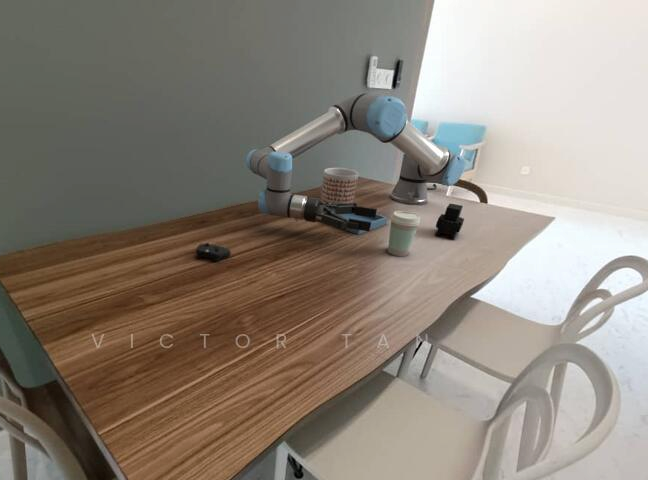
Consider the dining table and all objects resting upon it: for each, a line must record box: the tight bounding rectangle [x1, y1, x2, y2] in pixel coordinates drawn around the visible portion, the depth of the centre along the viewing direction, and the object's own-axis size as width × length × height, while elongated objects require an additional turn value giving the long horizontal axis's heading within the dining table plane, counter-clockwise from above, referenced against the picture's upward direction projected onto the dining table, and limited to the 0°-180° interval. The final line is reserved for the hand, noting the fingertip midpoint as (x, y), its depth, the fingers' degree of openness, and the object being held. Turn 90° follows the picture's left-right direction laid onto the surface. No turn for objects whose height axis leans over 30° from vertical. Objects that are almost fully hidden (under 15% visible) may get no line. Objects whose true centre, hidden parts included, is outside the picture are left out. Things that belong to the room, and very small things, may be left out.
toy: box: [435, 203, 465, 241], centre depth 137 cm, size 8×14×10 cm, turn 149°
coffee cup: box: [387, 210, 421, 257], centre depth 118 cm, size 8×8×12 cm
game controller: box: [195, 242, 232, 262], centre depth 110 cm, size 10×5×6 cm
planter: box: [320, 167, 359, 205], centre depth 159 cm, size 14×14×13 cm
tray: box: [338, 213, 388, 236], centre depth 142 cm, size 18×16×3 cm
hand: (373, 219), depth 119 cm, fingers open, 13 cm apart
